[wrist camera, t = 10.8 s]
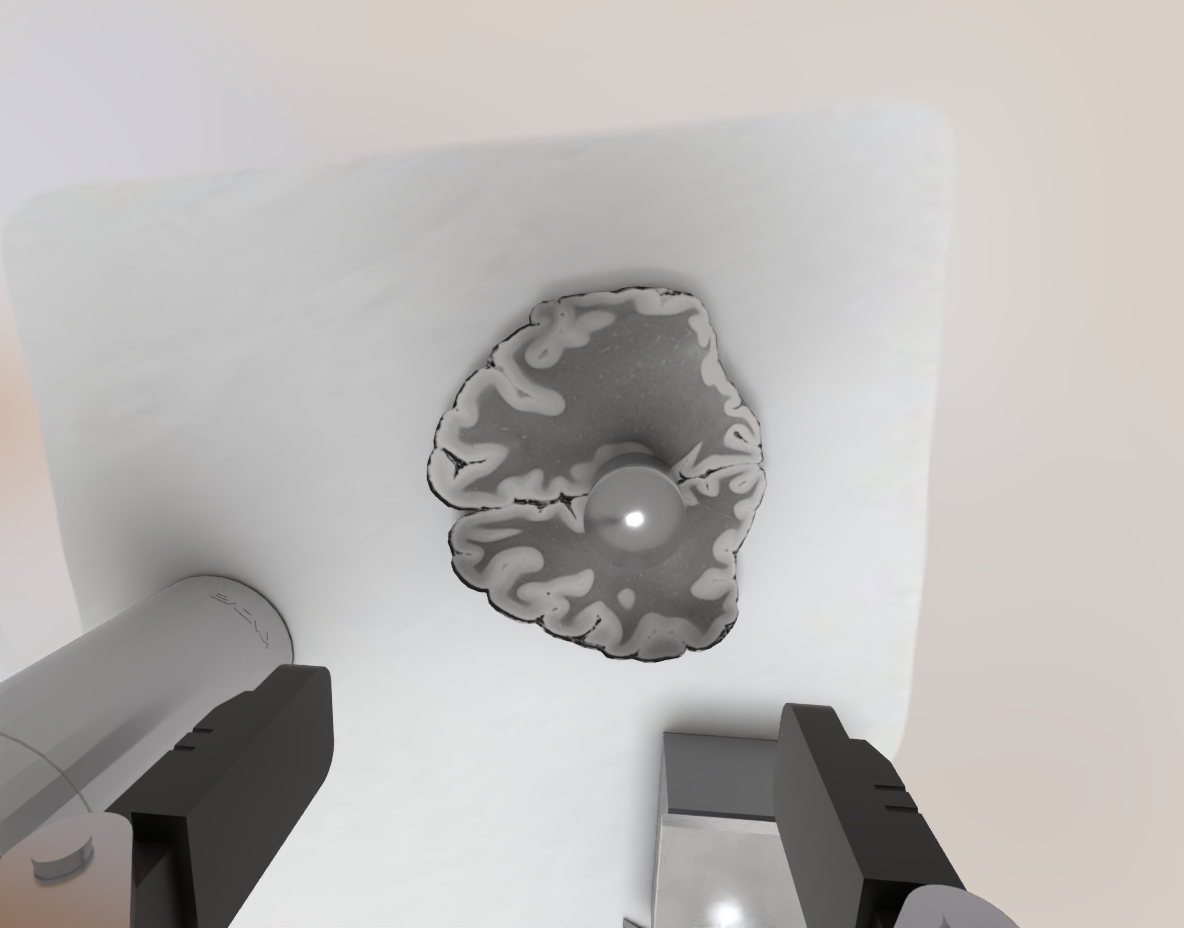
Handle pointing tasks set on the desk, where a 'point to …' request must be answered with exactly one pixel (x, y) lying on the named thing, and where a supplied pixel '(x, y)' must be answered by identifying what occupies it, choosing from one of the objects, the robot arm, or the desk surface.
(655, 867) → the scale
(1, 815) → the robot arm
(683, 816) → the pan
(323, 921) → the desk surface
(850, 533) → the desk surface
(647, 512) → the cylinder
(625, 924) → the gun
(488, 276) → the desk surface
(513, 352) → the brain slice
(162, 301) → the desk surface
